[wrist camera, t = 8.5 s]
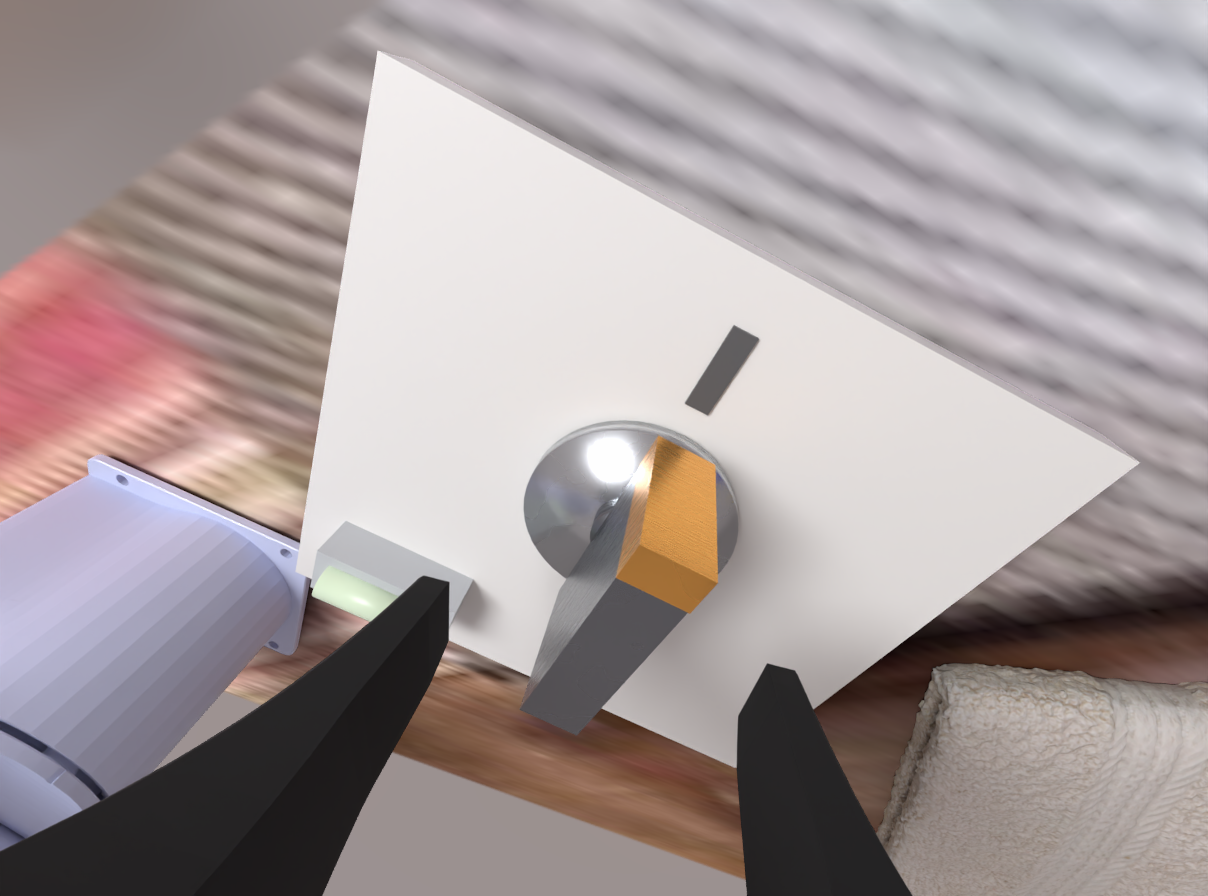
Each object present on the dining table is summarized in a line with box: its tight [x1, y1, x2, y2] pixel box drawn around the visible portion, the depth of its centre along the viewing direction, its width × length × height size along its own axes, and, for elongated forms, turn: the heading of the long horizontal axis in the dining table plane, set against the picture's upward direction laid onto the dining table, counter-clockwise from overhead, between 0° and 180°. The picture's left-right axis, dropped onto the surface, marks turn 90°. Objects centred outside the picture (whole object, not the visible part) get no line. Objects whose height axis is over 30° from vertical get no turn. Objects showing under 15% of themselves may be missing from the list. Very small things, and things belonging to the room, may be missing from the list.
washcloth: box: [876, 663, 1208, 896], centre depth 21 cm, size 12×18×3 cm, turn 6°
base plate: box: [295, 51, 1140, 768], centre depth 16 cm, size 20×18×4 cm
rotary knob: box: [519, 420, 738, 735], centre depth 13 cm, size 7×6×5 cm
